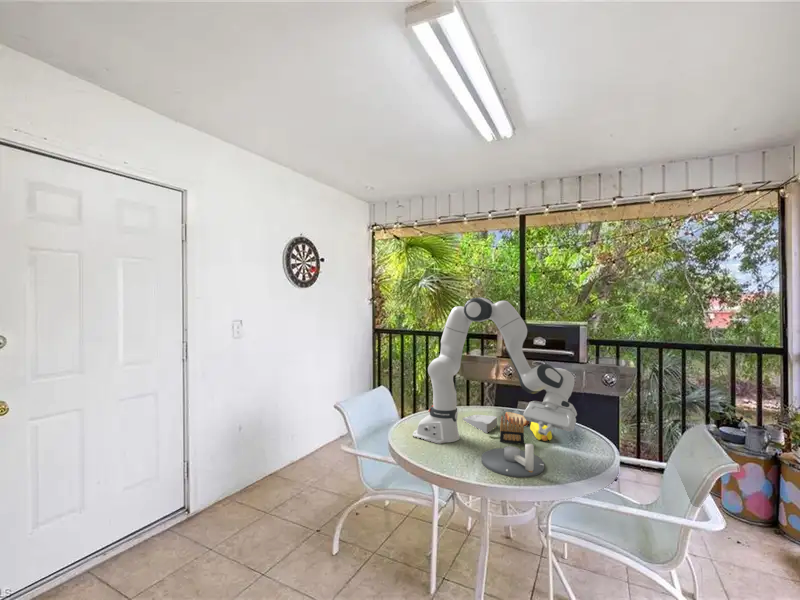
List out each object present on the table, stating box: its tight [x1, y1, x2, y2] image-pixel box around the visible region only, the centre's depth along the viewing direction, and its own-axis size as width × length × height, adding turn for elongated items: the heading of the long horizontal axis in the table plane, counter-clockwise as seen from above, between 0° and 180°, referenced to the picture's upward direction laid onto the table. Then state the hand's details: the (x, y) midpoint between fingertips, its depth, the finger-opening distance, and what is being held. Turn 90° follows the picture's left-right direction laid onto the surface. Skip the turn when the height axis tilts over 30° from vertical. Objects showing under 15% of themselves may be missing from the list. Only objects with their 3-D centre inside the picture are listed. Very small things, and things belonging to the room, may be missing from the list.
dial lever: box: [504, 443, 535, 471], centre depth 146 cm, size 15×6×9 cm, turn 20°
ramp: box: [462, 414, 498, 434], centre depth 199 cm, size 28×16×5 cm, turn 4°
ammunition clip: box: [499, 415, 525, 445], centre depth 174 cm, size 11×2×12 cm, turn 76°
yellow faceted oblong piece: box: [529, 421, 553, 442], centre depth 182 cm, size 18×7×8 cm
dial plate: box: [481, 447, 545, 478], centre depth 150 cm, size 24×24×2 cm
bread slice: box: [504, 411, 531, 426], centre depth 206 cm, size 18×18×4 cm
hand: (542, 433), depth 148 cm, fingers closed
